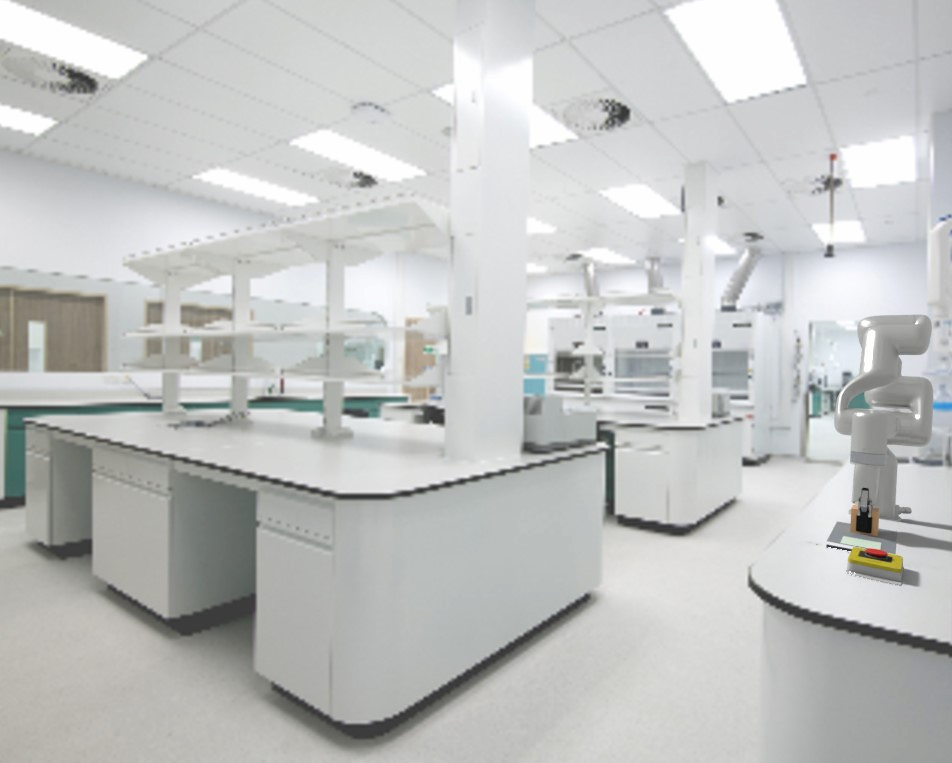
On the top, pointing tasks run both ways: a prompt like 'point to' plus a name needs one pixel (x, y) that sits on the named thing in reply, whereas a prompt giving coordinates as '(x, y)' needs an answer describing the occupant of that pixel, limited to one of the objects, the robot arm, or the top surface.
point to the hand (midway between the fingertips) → (864, 528)
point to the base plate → (862, 538)
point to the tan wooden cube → (874, 520)
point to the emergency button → (876, 565)
